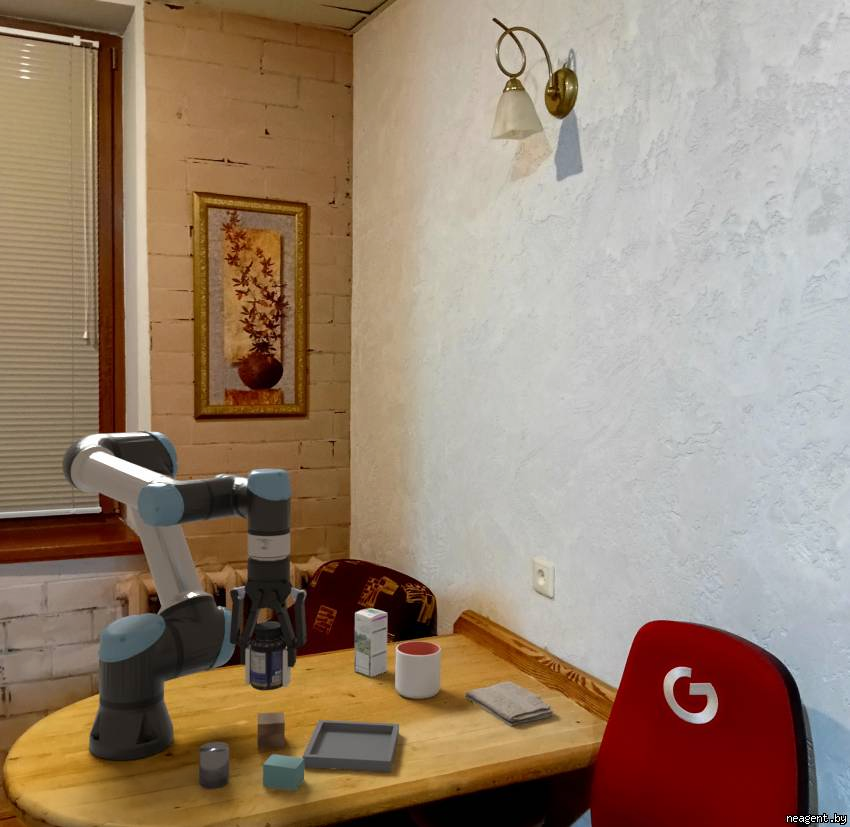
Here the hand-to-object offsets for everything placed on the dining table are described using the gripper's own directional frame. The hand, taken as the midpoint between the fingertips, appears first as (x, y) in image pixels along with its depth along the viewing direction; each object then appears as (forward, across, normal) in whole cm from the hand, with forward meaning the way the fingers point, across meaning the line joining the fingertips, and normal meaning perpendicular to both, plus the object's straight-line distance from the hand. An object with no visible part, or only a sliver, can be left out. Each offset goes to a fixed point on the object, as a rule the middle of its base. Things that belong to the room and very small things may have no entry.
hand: (268, 682), depth 155 cm
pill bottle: (+1, 0, 0) cm, 1 cm away
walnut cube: (+15, -2, +9) cm, 18 cm away
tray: (+15, +14, +8) cm, 22 cm away
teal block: (+15, +5, -6) cm, 17 cm away
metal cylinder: (+15, -7, -7) cm, 18 cm away
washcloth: (+16, +44, +33) cm, 57 cm away
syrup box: (+15, +11, +49) cm, 53 cm away
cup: (+15, +24, +38) cm, 48 cm away
